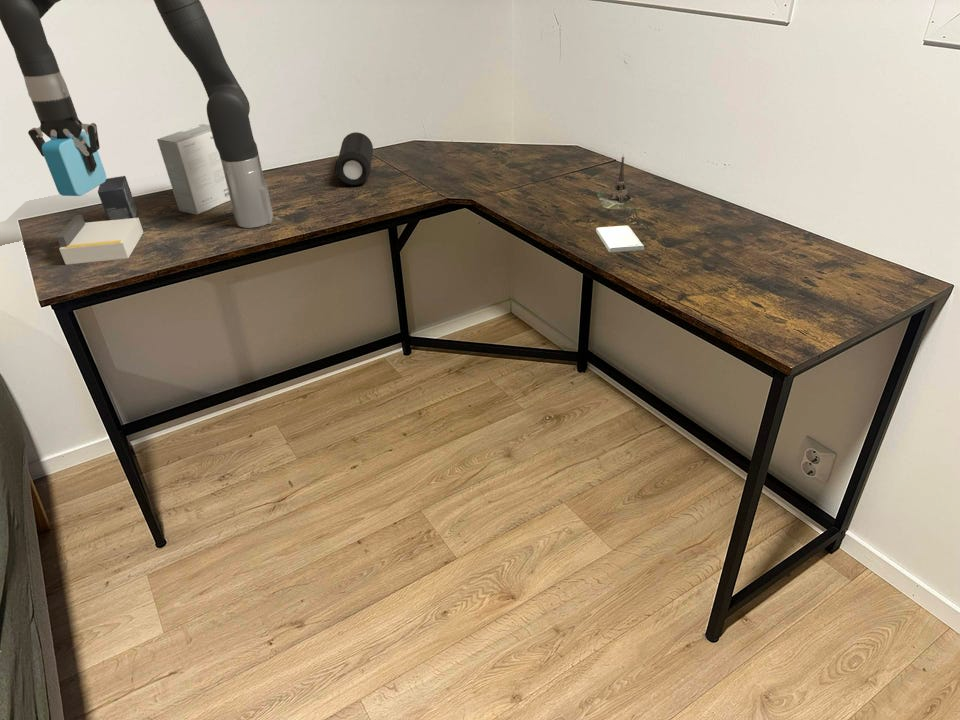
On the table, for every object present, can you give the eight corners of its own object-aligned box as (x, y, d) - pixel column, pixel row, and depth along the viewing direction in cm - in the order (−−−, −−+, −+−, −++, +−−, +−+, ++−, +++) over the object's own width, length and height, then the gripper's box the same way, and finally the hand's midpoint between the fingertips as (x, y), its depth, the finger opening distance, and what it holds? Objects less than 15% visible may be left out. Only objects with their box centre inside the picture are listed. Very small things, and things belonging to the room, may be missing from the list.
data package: (91, 180, 162) (72, 129, 156) (108, 180, 162) (90, 129, 155) (59, 198, 152) (38, 144, 146) (78, 198, 152) (57, 145, 145)
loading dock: (143, 232, 173) (135, 208, 169) (128, 258, 160) (119, 232, 156) (85, 237, 171) (76, 213, 167) (65, 264, 158) (55, 239, 154)
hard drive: (644, 245, 154) (628, 224, 165) (609, 248, 154) (596, 227, 164) (643, 252, 155) (628, 230, 166) (609, 254, 155) (595, 233, 165)
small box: (113, 216, 183) (99, 178, 178) (138, 212, 185) (126, 174, 179) (110, 230, 175) (95, 191, 169) (136, 225, 177) (123, 187, 171)
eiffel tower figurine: (594, 192, 188) (597, 144, 181) (630, 191, 188) (635, 143, 181) (603, 212, 176) (606, 162, 168) (641, 211, 176) (647, 160, 168)
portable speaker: (344, 162, 217) (340, 131, 212) (375, 160, 218) (371, 129, 212) (337, 189, 196) (332, 155, 190) (371, 187, 197) (367, 153, 191)
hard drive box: (221, 193, 196) (203, 123, 185) (239, 197, 193) (222, 126, 182) (177, 211, 185) (155, 138, 174) (196, 215, 182) (175, 141, 170)
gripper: (90, 89, 149) (115, 164, 159) (21, 94, 148) (51, 170, 157) (80, 97, 143) (107, 174, 153) (7, 102, 141) (39, 180, 151)
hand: (78, 171), depth 155 cm, fingers closed on data package, 5 cm apart
